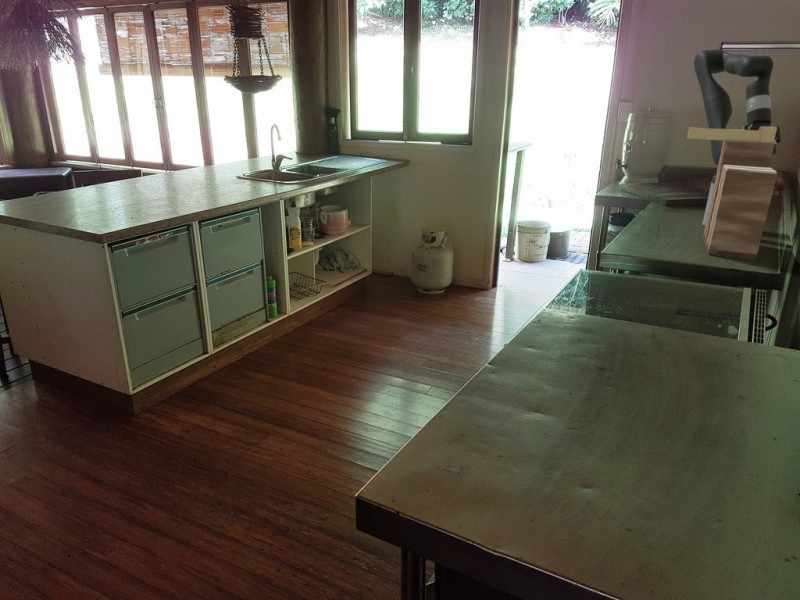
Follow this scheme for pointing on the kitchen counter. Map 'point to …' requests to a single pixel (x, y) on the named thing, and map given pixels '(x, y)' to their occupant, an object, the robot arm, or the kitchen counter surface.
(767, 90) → the robot arm
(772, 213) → the kitchen counter surface
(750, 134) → the tan wooden bar
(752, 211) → the stepped wooden block
